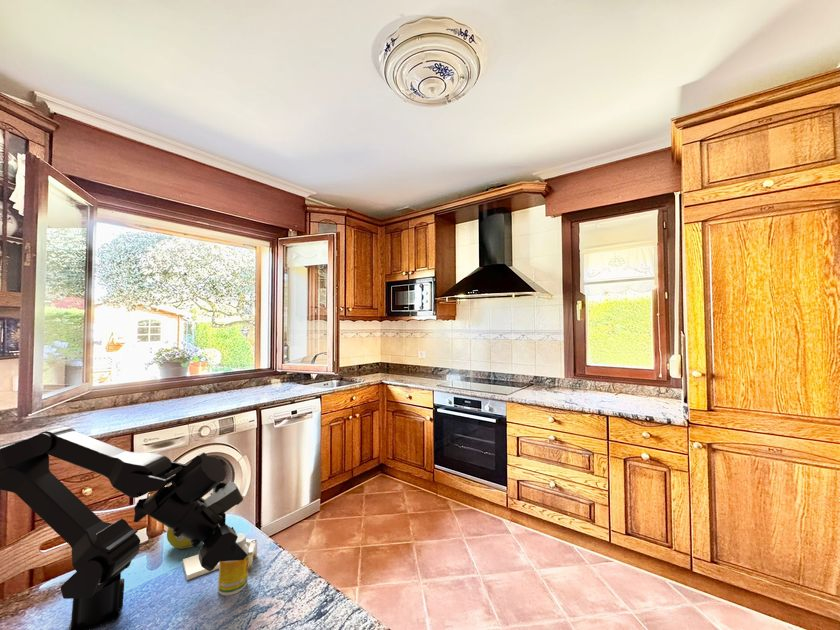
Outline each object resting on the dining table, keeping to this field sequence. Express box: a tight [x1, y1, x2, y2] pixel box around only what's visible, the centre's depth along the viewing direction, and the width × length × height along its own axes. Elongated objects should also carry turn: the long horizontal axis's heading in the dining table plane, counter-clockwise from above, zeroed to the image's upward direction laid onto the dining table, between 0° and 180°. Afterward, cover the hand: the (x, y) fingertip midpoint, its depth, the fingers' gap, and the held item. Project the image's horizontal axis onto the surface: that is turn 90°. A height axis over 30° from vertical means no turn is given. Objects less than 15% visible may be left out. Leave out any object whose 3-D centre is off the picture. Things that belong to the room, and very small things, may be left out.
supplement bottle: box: [217, 532, 249, 596], centre depth 71 cm, size 5×5×10 cm
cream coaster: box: [182, 553, 219, 581], centre depth 78 cm, size 7×7×1 cm
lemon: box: [166, 527, 193, 550], centre depth 86 cm, size 11×8×8 cm
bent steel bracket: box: [245, 538, 258, 572], centre depth 80 cm, size 4×9×4 cm, turn 40°
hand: (241, 550), depth 72 cm, fingers closed on supplement bottle, 5 cm apart
